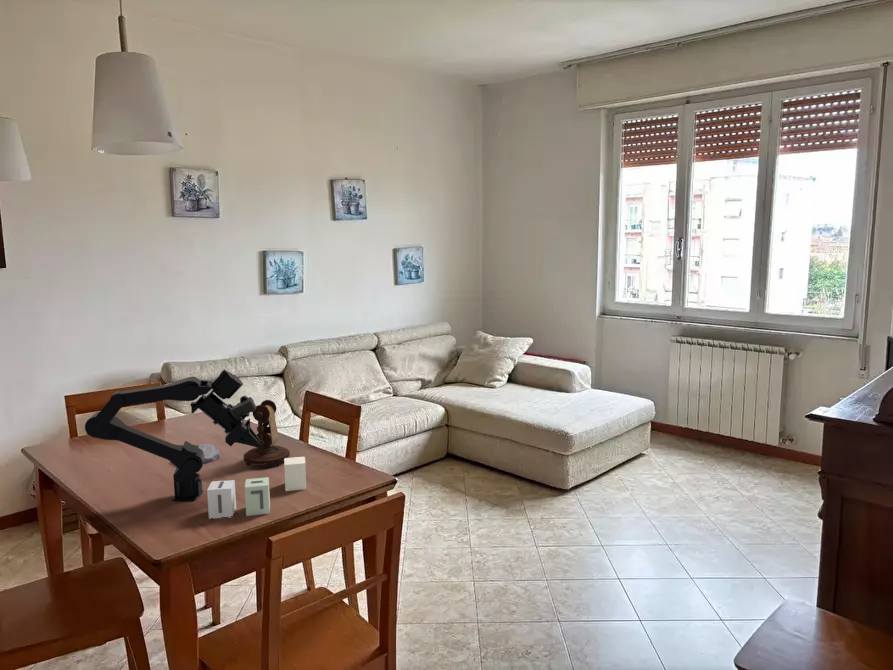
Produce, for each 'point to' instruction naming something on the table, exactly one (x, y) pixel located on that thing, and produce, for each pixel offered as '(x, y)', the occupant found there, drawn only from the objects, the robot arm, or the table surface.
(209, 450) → the stone block
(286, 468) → the plain cream block
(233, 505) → the grey marked block
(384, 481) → the table surface
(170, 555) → the table surface
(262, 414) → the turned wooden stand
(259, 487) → the sage marked block
